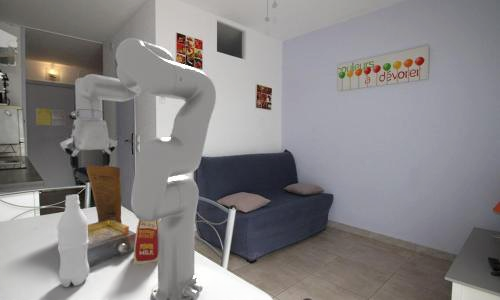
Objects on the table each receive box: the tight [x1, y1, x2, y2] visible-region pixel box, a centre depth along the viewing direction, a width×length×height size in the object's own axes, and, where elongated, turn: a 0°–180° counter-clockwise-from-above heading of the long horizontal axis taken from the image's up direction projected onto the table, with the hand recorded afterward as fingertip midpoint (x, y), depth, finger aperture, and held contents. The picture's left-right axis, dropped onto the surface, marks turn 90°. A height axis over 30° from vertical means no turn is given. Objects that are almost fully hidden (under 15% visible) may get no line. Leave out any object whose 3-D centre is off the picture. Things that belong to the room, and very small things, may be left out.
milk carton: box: [133, 219, 160, 265], centre depth 90 cm, size 9×9×20 cm
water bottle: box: [56, 193, 90, 288], centre depth 74 cm, size 7×7×25 cm
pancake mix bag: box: [86, 164, 123, 224], centre depth 113 cm, size 7×19×28 cm, turn 63°
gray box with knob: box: [87, 219, 136, 268], centre depth 92 cm, size 18×18×9 cm
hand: (91, 166), depth 89 cm, fingers open, 9 cm apart
